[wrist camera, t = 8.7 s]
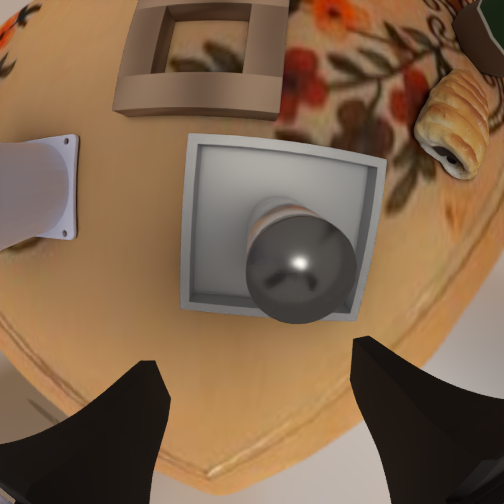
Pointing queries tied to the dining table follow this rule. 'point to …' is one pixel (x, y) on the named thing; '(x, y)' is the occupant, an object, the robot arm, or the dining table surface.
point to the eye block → (202, 83)
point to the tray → (256, 190)
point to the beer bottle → (482, 35)
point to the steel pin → (297, 262)
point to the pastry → (455, 124)
